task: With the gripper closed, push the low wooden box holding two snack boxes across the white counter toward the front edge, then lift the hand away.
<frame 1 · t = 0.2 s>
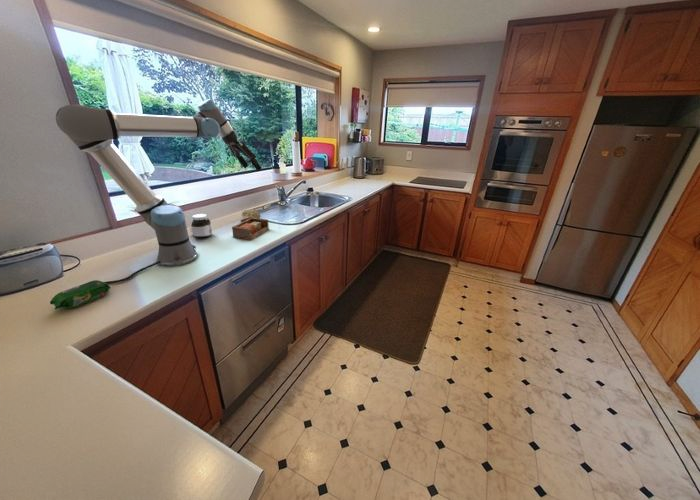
hand: (253, 168, 152), 35 cm above the counter, tool tilted 35°, fingers open, 13 cm apart
snack package: (84, 301, 95), on the counter
wooden box: (251, 233, 159), on the counter
spread jar: (201, 235, 153), on the counter
sponge: (250, 221, 178), on the counter
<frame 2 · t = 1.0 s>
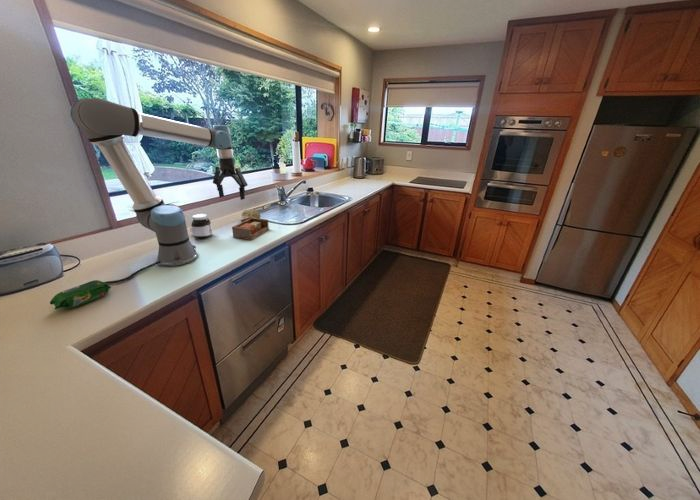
hand: (232, 198, 154), 19 cm above the counter, tool pointing down, fingers open, 13 cm apart
nothing on the counter moved.
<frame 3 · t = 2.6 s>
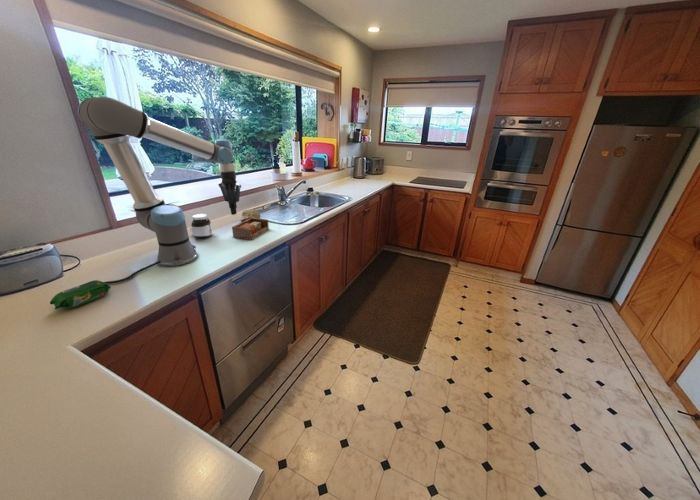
hand: (234, 214, 157), 10 cm above the counter, tool pointing down, fingers closed
nothing on the counter moved.
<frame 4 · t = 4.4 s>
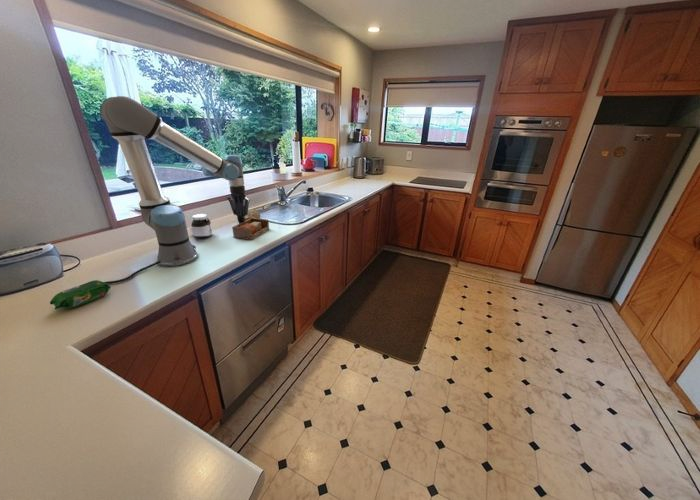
hand: (242, 226, 159), 3 cm above the counter, tool pointing down, fingers closed
wooden box: (252, 233, 159), on the counter, touching gripper
everything else where it was.
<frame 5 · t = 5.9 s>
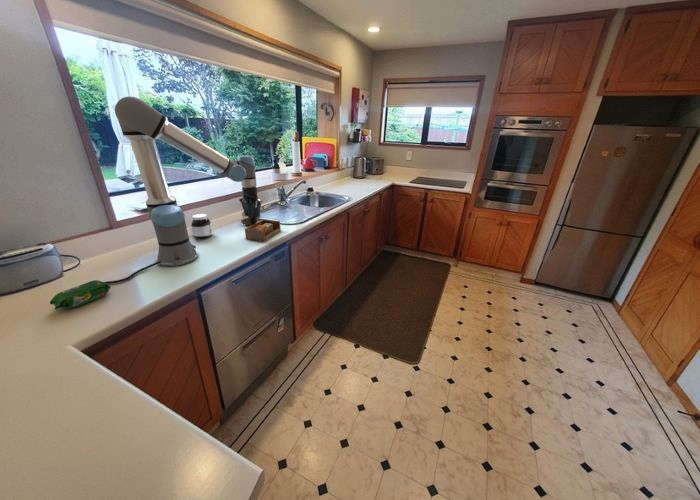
hand: (253, 228, 157), 3 cm above the counter, tool pointing down, fingers closed
wooden box: (264, 234, 157), on the counter, touching gripper
everything else where it was.
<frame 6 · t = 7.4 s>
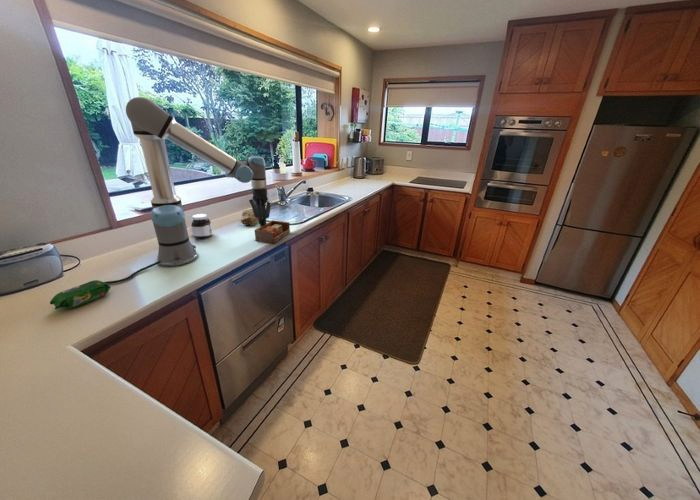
hand: (263, 229, 156), 3 cm above the counter, tool pointing down, fingers closed
wooden box: (273, 236, 156), on the counter, touching gripper
everything else where it was.
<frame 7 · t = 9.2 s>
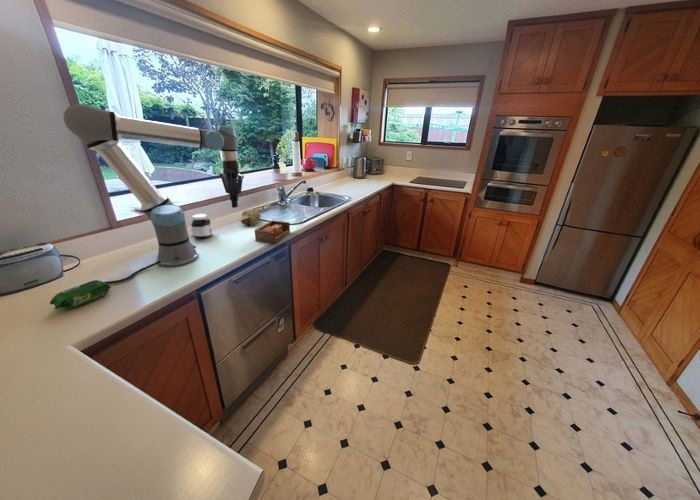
hand: (235, 206, 147), 17 cm above the counter, tool pointing down, fingers closed
wooden box: (273, 236, 156), on the counter
everything else where it was.
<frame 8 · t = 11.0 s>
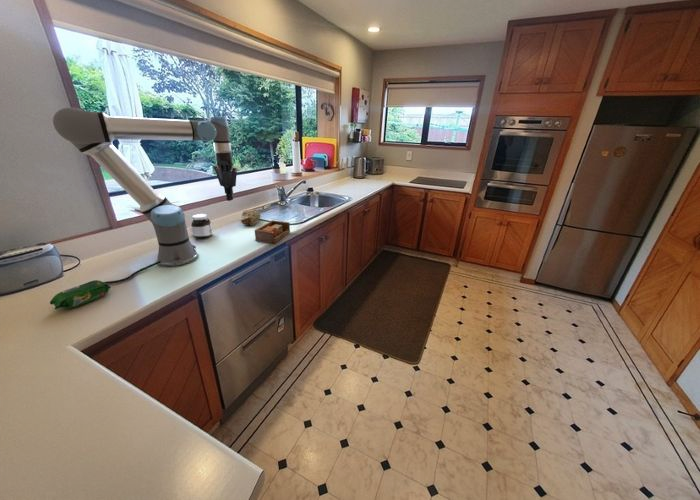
hand: (230, 200, 145), 20 cm above the counter, tool pointing down, fingers closed
nothing on the counter moved.
at the end: wooden box inside the target area (0.7 cm from its centre), on the counter; wooden box tilted 0°; wooden box moved 13.8 cm from its start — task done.
